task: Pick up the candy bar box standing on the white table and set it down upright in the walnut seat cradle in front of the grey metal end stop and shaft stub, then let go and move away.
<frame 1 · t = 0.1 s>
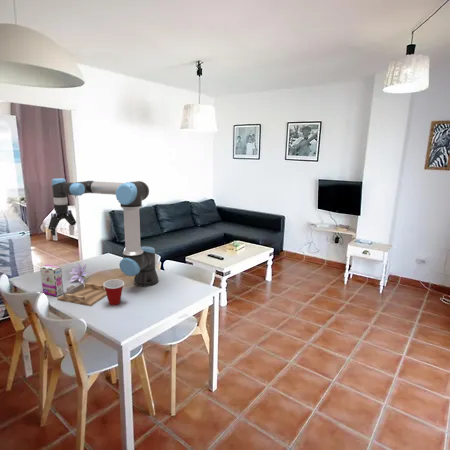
hand: (63, 237, 198), 28 cm above the table, fingers open, 13 cm apart
water lily: (78, 281, 203), on the table
plastic cup: (115, 303, 174), on the table
candy bar box: (53, 294, 183), on the table
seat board: (85, 296, 181), on the table
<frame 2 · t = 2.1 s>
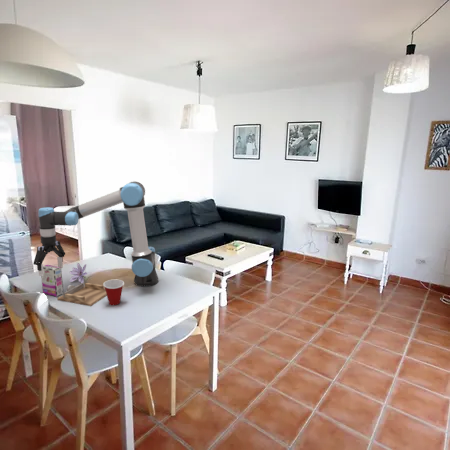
hand: (51, 271, 180), 14 cm above the table, fingers open, 13 cm apart
nothing on the table moved.
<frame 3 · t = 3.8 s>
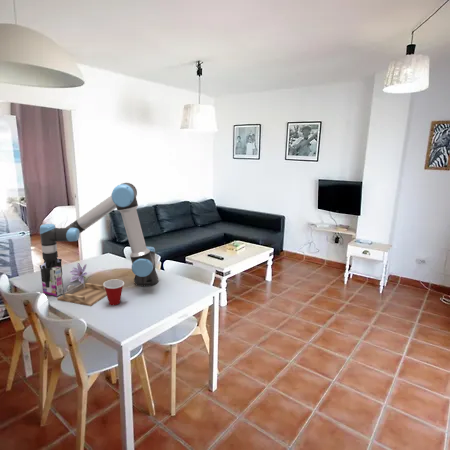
hand: (53, 290, 183), 2 cm above the table, fingers closed on candy bar box, 5 cm apart
candy bar box: (53, 293, 184), on the table, touching gripper
everything else where it was.
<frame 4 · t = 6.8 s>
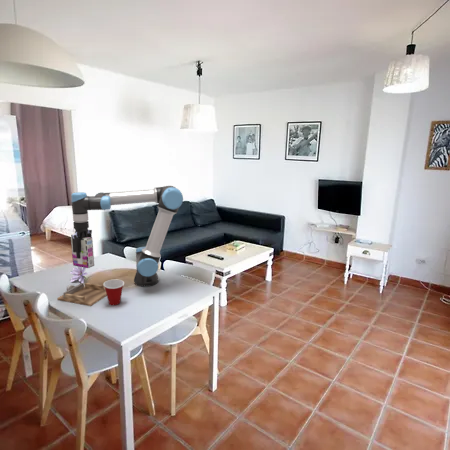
hand: (84, 261, 176), 21 cm above the table, fingers closed on candy bar box, 5 cm apart
candy bar box: (83, 266, 177), point 18 cm above the table, touching gripper
everything else where it was.
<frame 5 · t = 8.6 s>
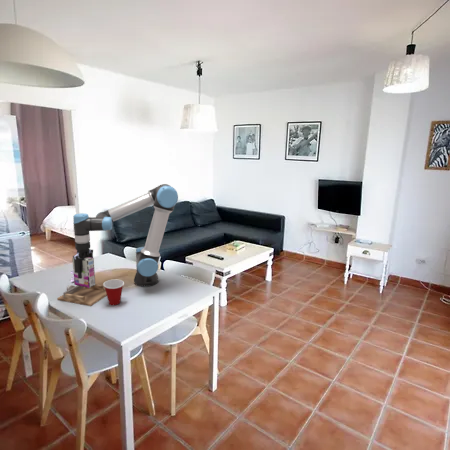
hand: (85, 281, 179), 9 cm above the table, fingers closed on candy bar box, 5 cm apart
candy bar box: (85, 285, 180), point 7 cm above the table, touching gripper
everything else where it was.
when the fingers open (5 cm above the table, at t = 9.9 s): candy bar box stays where it is, resting on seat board.
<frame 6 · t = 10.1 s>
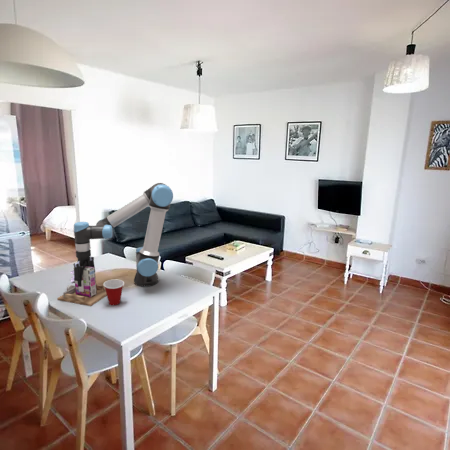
hand: (86, 288, 180), 5 cm above the table, fingers open, 7 cm apart
candy bar box: (86, 294, 181), point 1 cm above the table, touching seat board
everything else where it was.
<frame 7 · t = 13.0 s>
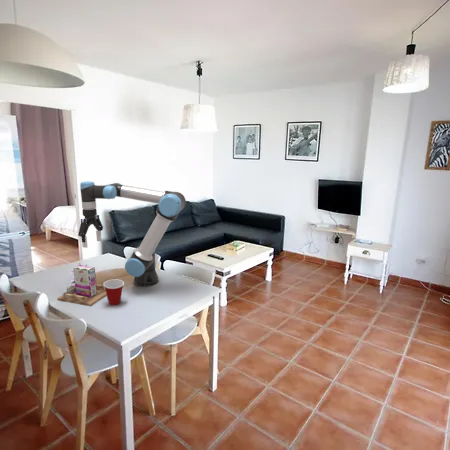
hand: (92, 244, 187), 28 cm above the table, fingers open, 13 cm apart
nothing on the table moved.
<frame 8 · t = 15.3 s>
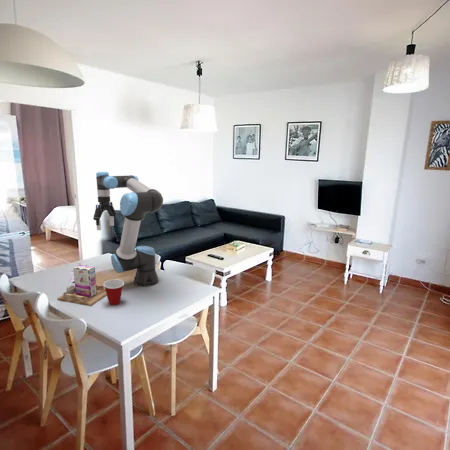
hand: (105, 227, 210), 32 cm above the table, fingers open, 13 cm apart
nothing on the table moved.
at the end: candy bar box inside the target area on the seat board (0.5 cm from its centre), point 1.0 cm above the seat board's base; candy bar box tilted 0°; the gripper is holding nothing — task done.
